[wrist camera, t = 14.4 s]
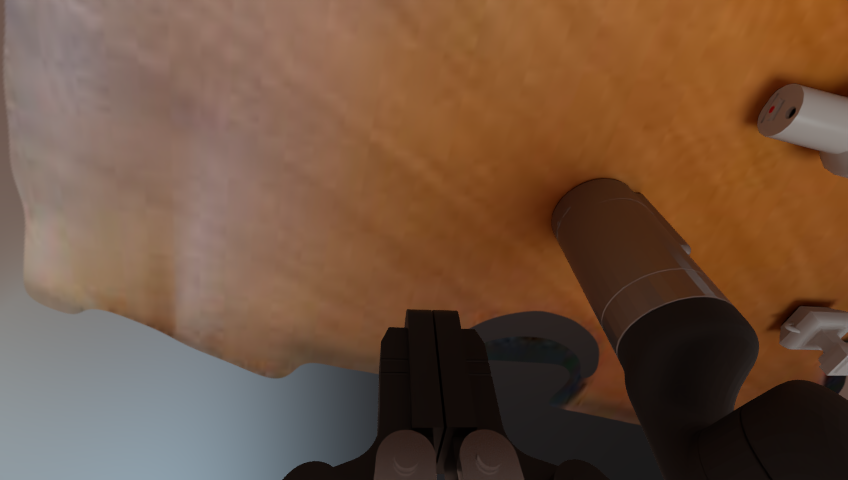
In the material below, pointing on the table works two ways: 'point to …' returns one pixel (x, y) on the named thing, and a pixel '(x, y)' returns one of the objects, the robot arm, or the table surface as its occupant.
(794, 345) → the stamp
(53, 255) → the table surface
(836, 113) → the spotlight
